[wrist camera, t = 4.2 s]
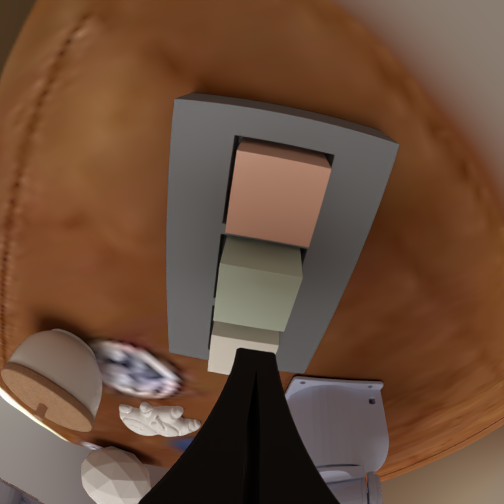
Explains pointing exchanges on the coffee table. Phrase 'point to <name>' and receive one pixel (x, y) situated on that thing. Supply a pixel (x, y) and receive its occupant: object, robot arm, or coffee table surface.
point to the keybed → (214, 237)
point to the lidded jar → (56, 378)
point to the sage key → (257, 283)
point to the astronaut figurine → (157, 420)
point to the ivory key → (237, 344)
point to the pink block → (276, 191)
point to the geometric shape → (114, 476)
